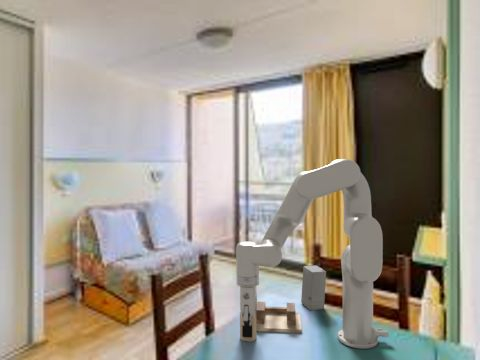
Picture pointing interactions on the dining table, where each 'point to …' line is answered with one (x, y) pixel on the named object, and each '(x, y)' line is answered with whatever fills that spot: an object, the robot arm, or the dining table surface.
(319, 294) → the skincare box
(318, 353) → the dining table surface
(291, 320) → the holder
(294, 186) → the robot arm
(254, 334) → the candle
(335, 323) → the dining table surface
